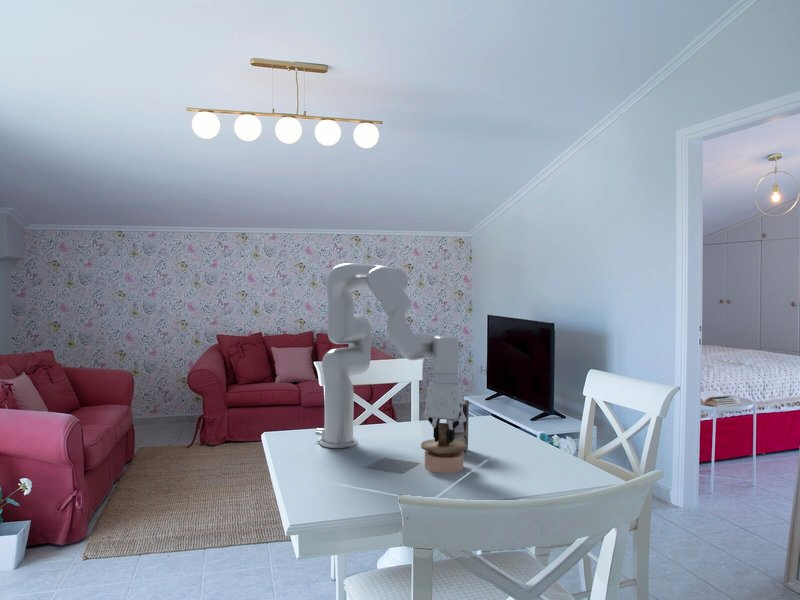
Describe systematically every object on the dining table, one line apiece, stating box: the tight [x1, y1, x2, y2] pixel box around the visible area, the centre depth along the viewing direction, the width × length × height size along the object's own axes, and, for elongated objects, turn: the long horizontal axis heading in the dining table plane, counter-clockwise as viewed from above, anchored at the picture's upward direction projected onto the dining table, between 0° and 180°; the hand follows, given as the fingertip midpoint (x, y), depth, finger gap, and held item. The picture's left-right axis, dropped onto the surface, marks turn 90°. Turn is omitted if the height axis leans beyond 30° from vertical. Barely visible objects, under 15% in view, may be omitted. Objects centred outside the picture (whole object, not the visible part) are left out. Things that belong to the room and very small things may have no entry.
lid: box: [420, 422, 466, 453], centre depth 181 cm, size 13×13×7 cm
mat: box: [364, 457, 421, 475], centre depth 182 cm, size 12×12×1 cm
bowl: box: [423, 450, 465, 474], centre depth 182 cm, size 11×11×4 cm
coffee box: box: [445, 399, 470, 457], centre depth 199 cm, size 9×6×16 cm
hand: (443, 441), depth 182 cm, fingers closed on lid, 3 cm apart
